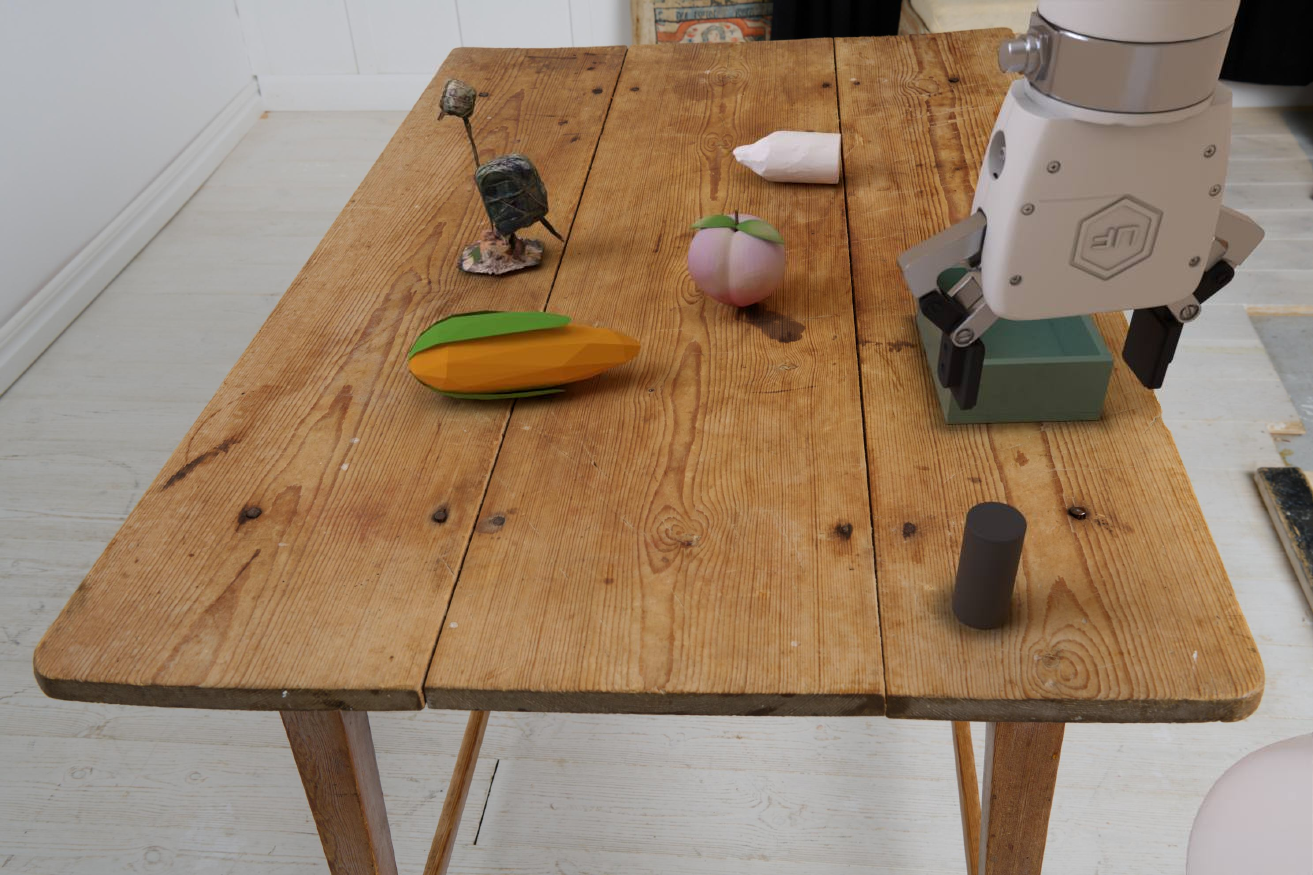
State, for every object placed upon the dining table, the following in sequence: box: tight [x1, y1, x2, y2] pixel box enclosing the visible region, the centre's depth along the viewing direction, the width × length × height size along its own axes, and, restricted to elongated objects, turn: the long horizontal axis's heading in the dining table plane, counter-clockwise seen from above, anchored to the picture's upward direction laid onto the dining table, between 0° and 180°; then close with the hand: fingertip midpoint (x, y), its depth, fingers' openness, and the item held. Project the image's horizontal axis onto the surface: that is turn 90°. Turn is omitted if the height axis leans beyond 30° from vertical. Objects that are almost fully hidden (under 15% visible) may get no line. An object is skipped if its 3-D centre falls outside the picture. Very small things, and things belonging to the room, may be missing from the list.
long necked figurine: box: [436, 77, 566, 276], centre depth 105 cm, size 8×11×20 cm
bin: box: [915, 262, 1115, 425], centre depth 90 cm, size 16×12×6 cm
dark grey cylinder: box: [951, 501, 1028, 630], centre depth 68 cm, size 4×4×8 cm
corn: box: [407, 309, 642, 401], centre depth 91 cm, size 7×8×20 cm
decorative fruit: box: [686, 209, 787, 308], centre depth 99 cm, size 9×8×10 cm
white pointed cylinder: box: [732, 130, 842, 185], centre depth 120 cm, size 6×12×6 cm, turn 79°
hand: (1049, 383), depth 55 cm, fingers open, 9 cm apart
